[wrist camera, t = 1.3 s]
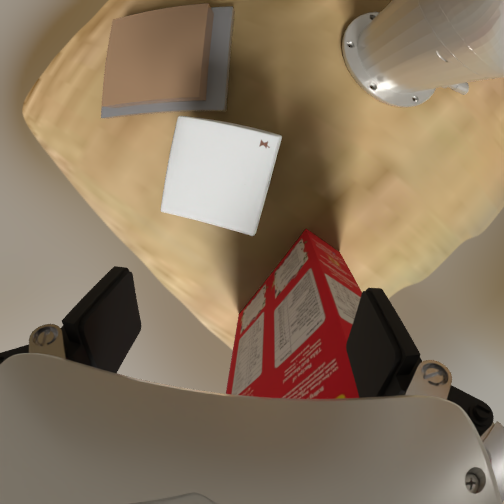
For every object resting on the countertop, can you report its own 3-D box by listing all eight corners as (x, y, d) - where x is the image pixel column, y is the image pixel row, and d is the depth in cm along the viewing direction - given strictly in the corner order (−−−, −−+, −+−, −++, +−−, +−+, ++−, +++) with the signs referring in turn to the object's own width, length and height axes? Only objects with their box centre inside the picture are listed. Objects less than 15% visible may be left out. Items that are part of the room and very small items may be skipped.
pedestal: (234, 11, 22) (229, -5, 18) (226, 111, 27) (219, 106, 23) (117, 27, 23) (100, 17, 19) (107, 118, 28) (87, 117, 24)
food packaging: (270, 331, 38) (266, 506, 15) (238, 314, 37) (209, 494, 14) (339, 252, 33) (425, 434, 10) (306, 228, 32) (369, 420, 9)
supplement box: (213, 121, 28) (177, 110, 16) (279, 137, 28) (286, 135, 17) (198, 183, 31) (156, 212, 19) (261, 199, 31) (256, 238, 20)
